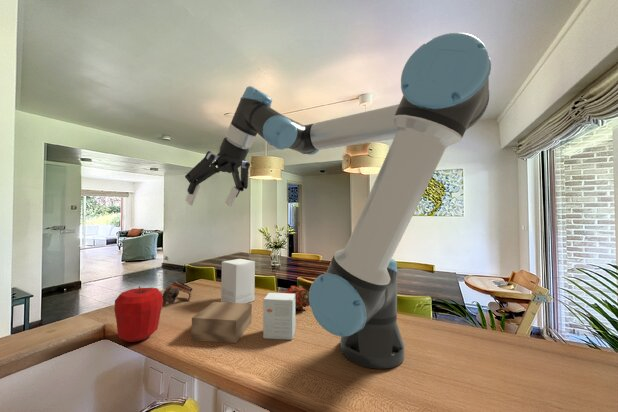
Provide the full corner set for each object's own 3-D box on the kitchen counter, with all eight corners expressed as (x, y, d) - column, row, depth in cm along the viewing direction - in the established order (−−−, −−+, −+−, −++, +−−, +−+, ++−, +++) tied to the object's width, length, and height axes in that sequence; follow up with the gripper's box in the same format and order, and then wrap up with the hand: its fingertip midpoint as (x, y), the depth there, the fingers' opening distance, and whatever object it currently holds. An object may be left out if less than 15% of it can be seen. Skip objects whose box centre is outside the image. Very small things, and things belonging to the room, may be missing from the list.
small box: (295, 330, 72) (296, 293, 73) (292, 340, 67) (293, 300, 67) (267, 329, 73) (268, 292, 73) (262, 338, 68) (263, 298, 68)
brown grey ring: (162, 299, 97) (175, 279, 100) (185, 310, 98) (197, 289, 101) (151, 302, 86) (166, 279, 89) (178, 314, 87) (191, 290, 90)
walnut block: (251, 323, 77) (251, 303, 77) (235, 344, 65) (236, 320, 65) (213, 321, 78) (213, 301, 78) (191, 341, 66) (191, 317, 66)
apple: (118, 353, 59) (120, 294, 60) (109, 338, 66) (111, 285, 67) (167, 337, 67) (169, 285, 68) (154, 325, 74) (156, 278, 74)
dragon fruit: (313, 316, 86) (280, 317, 89) (315, 295, 93) (284, 296, 96) (306, 300, 82) (272, 302, 85) (310, 279, 89) (277, 281, 92)
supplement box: (255, 301, 96) (256, 260, 96) (235, 307, 89) (236, 264, 89) (240, 295, 101) (241, 258, 102) (220, 301, 94) (221, 261, 95)
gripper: (261, 146, 85) (235, 198, 92) (190, 124, 64) (163, 193, 71) (275, 157, 81) (247, 211, 88) (203, 137, 61) (174, 209, 67)
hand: (209, 203), depth 80 cm, fingers open, 13 cm apart
